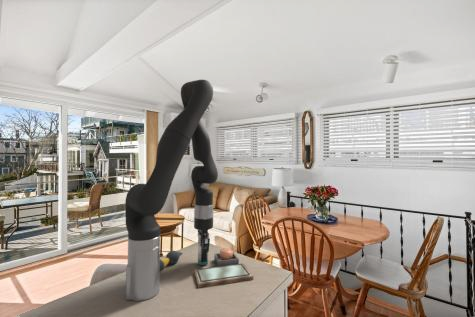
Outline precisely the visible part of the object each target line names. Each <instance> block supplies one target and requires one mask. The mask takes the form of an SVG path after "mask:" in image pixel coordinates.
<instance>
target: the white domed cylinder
mask: <svg viewBox="0 0 475 317" xmlns="http://www.w3.org/2000/svg"><path fill="white" fill-rule="evenodd" d="M204 249H206V248H204ZM208 263H209V252H207V262H201V246H200V243H198V242H197V265H199V266H206V265H208Z"/></svg>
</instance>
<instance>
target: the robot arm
mask: <svg viewBox="0 0 475 317" xmlns="http://www.w3.org/2000/svg"><path fill="white" fill-rule="evenodd" d="M213 96H214V88H213V85H212V84H211V82H210V81H209V80H208V79H207V80H206V79H198V80H197V79H196V80H192V81H187V82H185V83H184V84H182V86H181V88H180V97H181V98H180V99H181V101H182V106H183V110H182V111H181V112H180V113H179V114H177V116H175V117H174V118H173V120H171V121H170V123H169V124H168V125H167V126H166V128H165V129H164V131H163V133H162V135H161V137H160V139H159V141H158V143H157V148H156V158H155V164H154V168H153V170H152V172H151V174H150V176H149V178H148V179H147V182H146V183H138V184H135V185H133V186H131V187H130V188H129V190H128V191H127V192H126V196H125V204H124V206H125V209H124V210H125V213H124V214H125V228H126V231H127V264H126V268H125V271H126V273H125V301H135V302H140V301H146V300H149V299H152V298H154V297H156V296H157V295H158V293H159V292H160V276H161V275H160V273H161V271H160V259H161V226H160V224H159V222H158V221H157V220H156V215H157V214H159V212H160V211H161V210H162V209H163V208H164V206H165V204H166V201H167V199H168V195H169V193H170V190H171V187H172V183H173V182H174V179H175V176H176V173H177V172H178V170H179V167H180V164H181V162H182V160H183V157H184V155H185V153H186V151H187V150H188V148H189V145H190V143H191V145H192V154H193V159H194V160H195V161H197V162H201V163H202V164H203V165H196V166H194V167H193V168H192V169H191V174H190V178H191V182H192V186H193V190H194V195H195V196H194V197H195V198H194V209H193V210H194V211H193V212H194V213H193V215H194V216H193V228H194V229H195V230H197V244H198V243H200V246H201V262H207V252H208V253H209V252H210V241H211V240H210V239H211V238H210V233H209V230H212V229H213V228H214V205H213V204H214V193H213V191H212V190H211V189H209V188H206V186H205V184H209V185H210V184H211V185H212V184H215V183H216V181H217V179H218V178H219V177H218V176H219V175H218V174H219V172H218V169H217V166H216V163H215V161H214V158H213V155H212V146H211V139H210V136H209V133H208V131H207V129H206V127H205V125H204V123H203V122H202V120H201V119H202V118H203V115H204V114H205V112H206V111H207V109H208V108H209V106H210V104H211V102H212V100H213ZM204 248H206V249H204Z"/></svg>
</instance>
